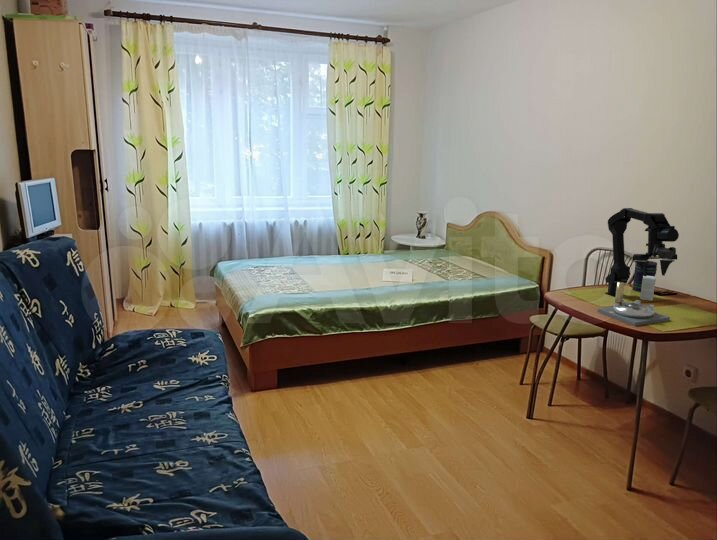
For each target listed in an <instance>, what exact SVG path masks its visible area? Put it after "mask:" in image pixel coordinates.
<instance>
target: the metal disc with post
mask: <svg viewBox="0 0 717 540" xmlns="http://www.w3.org/2000/svg"><path fill="white" fill-rule="evenodd" d="M625 285H626V283H624V282H617V288H616V297H614V298H615V299H614V303H613V306H612V307H613V311H614V312H615V313H617V314H619V315H622V316H626V317H632V318H651V317H653V316H654V312H656V311H655V310H656V309H655V305H654V304H648V305H647V304H643V303H641V302H642V300H641V299H635V301H634V302H631V301H625V299H624V296H623V294H624V293H625Z"/></svg>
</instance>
